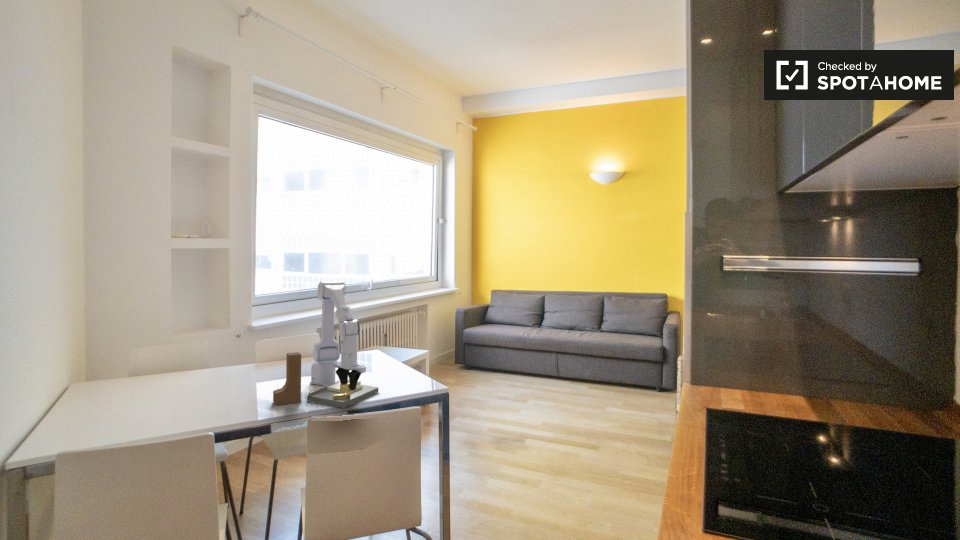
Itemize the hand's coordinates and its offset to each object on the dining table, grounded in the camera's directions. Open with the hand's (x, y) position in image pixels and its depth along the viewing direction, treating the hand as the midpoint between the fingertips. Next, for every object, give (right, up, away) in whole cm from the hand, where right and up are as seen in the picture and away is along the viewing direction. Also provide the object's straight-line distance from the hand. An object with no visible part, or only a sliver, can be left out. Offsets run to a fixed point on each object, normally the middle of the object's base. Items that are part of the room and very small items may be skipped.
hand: (348, 389), depth 186 cm
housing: (-4, -5, +7) cm, 9 cm away
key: (-1, -3, 0) cm, 3 cm away
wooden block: (-22, -5, -2) cm, 23 cm away
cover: (-4, -2, +10) cm, 11 cm away
